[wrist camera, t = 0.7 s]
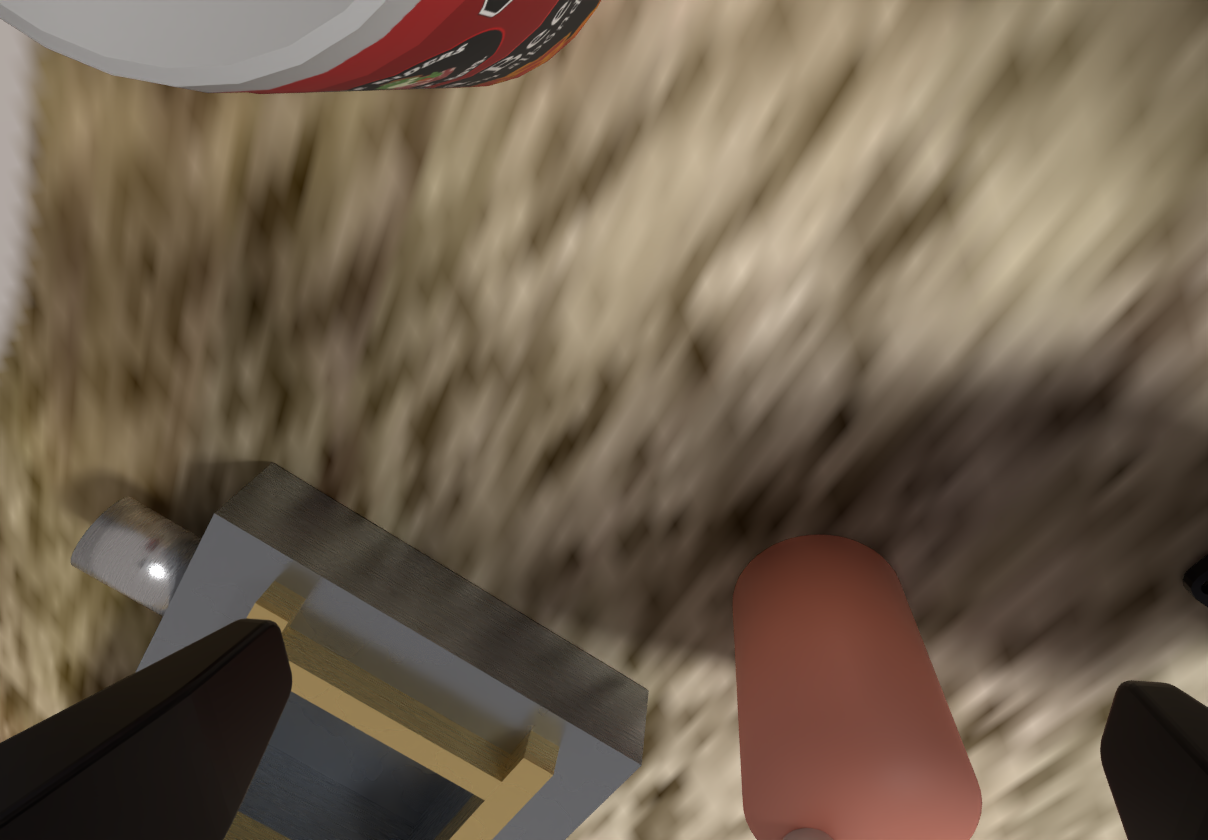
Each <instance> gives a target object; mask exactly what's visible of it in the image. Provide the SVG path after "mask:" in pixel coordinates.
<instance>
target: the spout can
mask: <svg viewBox="0 0 1208 840" xmlns="http://www.w3.org/2000/svg"><path fill="white" fill-rule="evenodd" d="M732 606H733V625H734V644H735V663H736V682H737V701H738V720H739V739H740V758H741V777H742V796H743V809H744V814H745V818H746V821H747V823H748V825H749V828H750V830H751V832H752V833H753V835H754V836H755V838H756V839H757V840H969V839H970V838H971V837H972V835H973V834H974V832H975V830H976V828H977V825H978V823H979V819H980V816H981V809H982V797H981V790H980V787H979V784H978V781H977V778H976V776H975V773H974V771H973V768H972V765H971V763H970V760H969V758H968V755H967V753H966V750H965V748H964V745H963V742H962V740H961V737H960V735H959V732H958V730H957V727H956V725H955V722H954V719H953V717H952V714H951V712H950V709H949V707H948V704H947V702H946V699H945V696H944V694H943V691H942V689H941V686H940V684H939V681H938V678H937V676H936V673H935V671H934V668H933V666H932V663H931V661H930V658H929V655H928V653H927V650H926V648H925V645H924V643H923V640H922V638H921V635H920V632H919V630H918V627H917V625H916V622H915V620H914V617H913V615H912V612H911V609H910V607H909V604H908V602H907V599H906V597H905V594H904V592H903V589H902V586H901V584H900V581H899V579H898V577H897V575H896V573H895V571H894V570H893V569H892V567H891V566H890V564H889V563H888V562H887V561H886V560H885V559H884V558H883V557H882V556H881V555H879V554H878V553H877V552H875V551H874V550H873V549H871V548H869V547H867V546H866V545H864V544H861V543H859V542H857V541H854V540H851V539H848V538H844V537H839V536H833V535H805V536H799V537H795V538H791V539H787V540H784V541H782V542H779V543H777V544H775V545H773V546H771V547H769V548H767V549H765V550H764V551H763V552H761V553H760V554H758V555H757V556H756V557H755V558H754V559H753V560H752V561H751V562H750V563H749V564H748V565H747V566H746V567H745V569H744V570H743V572H742V573H741V575H740V576H739V578H738V581H737V583H736V585H735V589H734V593H733V602H732Z"/></svg>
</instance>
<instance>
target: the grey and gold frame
mask: <svg viewBox="0 0 1208 840" xmlns="http://www.w3.org/2000/svg"><path fill="white" fill-rule="evenodd" d="M71 565H72V566H74V567H76V568H78V569H79V570H81V571H83V572H85V573H87V574H88V575H90V576H92V577H94V578H95V579H97V580H99V581H101V582H103V583H104V584H106V585H108V586H110V587H111V588H113V589H115V590H117V591H118V592H120V593H122V594H124V595H126V596H127V597H129V598H131V599H133V600H134V601H136V602H138V603H140V604H142V605H143V606H145V607H147V608H149V609H150V610H152V611H154V612H156V613H157V614H159V615H161V616H163V618H162V620H161V622H160V624H159V626H158V628H157V630H156V632H155V634H154V636H153V638H152V640H151V642H150V644H149V646H148V648H147V650H146V652H145V654H144V656H143V658H142V660H141V662H140V664H139V666H138V668H137V670H136V672H138V671H140V670H142V669H144V668H146V667H148V666H149V665H151V664H153V663H155V662H157V661H159V660H161V659H163V658H165V657H167V656H169V655H171V654H173V653H174V652H176V651H178V650H180V649H182V648H184V647H186V646H188V645H190V644H192V643H194V642H196V641H198V640H199V639H201V638H203V637H205V636H207V635H209V634H211V633H213V632H215V631H217V630H219V629H221V628H223V627H225V626H226V625H228V624H230V623H232V622H234V621H236V620H239V619H246V618H248V619H263V620H271V621H274V622H276V623H277V625H278V626H279V627H280V630H281V632H282V636H283V640H284V644H285V648H286V652H287V656H288V660H289V664H290V668H291V672H292V689H291V693H290V696H289V699H288V701H287V704H286V706H285V708H284V710H283V712H282V715H281V717H280V719H279V721H278V724H277V726H276V728H275V730H274V733H273V735H272V737H271V739H270V742H269V744H268V746H267V748H266V751H265V753H264V755H263V757H262V760H261V762H260V764H259V766H258V769H257V771H256V773H255V775H254V778H253V780H252V782H251V784H250V786H249V789H248V791H247V793H246V795H245V798H244V800H243V802H242V804H241V806H240V808H239V810H238V812H237V815H236V817H235V819H234V821H233V823H232V825H231V827H230V828H229V830H228V832H227V834H226V836H225V838H224V840H565V839H566V838H567V837H568V836H569V835H570V834H571V833H572V832H573V831H574V830H575V829H576V828H577V827H578V826H579V825H580V824H581V823H582V822H584V821H585V820H586V819H587V818H588V817H589V816H590V815H591V814H592V813H593V812H594V811H595V810H596V809H597V808H598V807H599V806H600V805H601V804H602V803H603V802H604V801H605V800H606V799H607V798H608V797H609V796H610V795H611V794H612V793H613V792H614V791H615V790H616V789H617V788H619V787H620V786H621V785H622V784H623V783H624V782H625V781H626V780H627V779H628V778H629V777H630V776H631V775H632V774H633V773H634V772H635V771H636V770H637V769H638V768H639V767H640V766H641V765H642V754H643V743H644V733H645V722H646V711H647V701H648V690H647V689H645V688H643V687H642V686H640V685H638V684H637V683H635V682H633V681H632V680H630V679H628V678H627V677H625V676H623V675H622V674H620V673H619V672H617V671H615V670H614V669H612V668H610V667H609V666H607V665H605V664H604V663H602V662H600V661H599V660H597V659H595V658H594V657H592V656H590V655H589V654H587V653H586V652H584V651H582V650H581V649H579V648H577V647H576V646H574V645H572V644H571V643H569V642H567V641H566V640H564V639H562V638H561V637H559V636H558V635H556V634H554V633H553V632H551V631H549V630H548V629H546V628H544V627H543V626H541V625H539V624H538V623H536V622H534V621H533V620H531V619H529V618H528V617H526V616H525V615H523V614H521V613H520V612H518V611H516V610H515V609H513V608H511V607H510V606H508V605H506V604H505V603H503V602H501V601H500V600H498V599H496V598H495V597H493V596H492V595H490V594H488V593H487V592H485V591H483V590H482V589H480V588H478V587H477V586H475V585H473V584H472V583H470V582H468V581H467V580H465V579H464V578H462V577H460V576H459V575H457V574H455V573H454V572H452V571H450V570H449V569H447V568H445V567H444V566H442V565H440V564H439V563H437V562H435V561H434V560H432V559H431V558H429V557H427V556H426V555H424V554H422V553H421V552H419V551H417V550H416V549H414V548H412V547H411V546H409V545H407V544H406V543H404V542H403V541H401V540H399V539H398V538H396V537H394V536H393V535H391V534H389V533H388V532H386V531H384V530H383V529H381V528H379V527H378V526H376V525H374V524H373V523H371V522H370V521H368V520H366V519H365V518H363V517H361V516H360V515H358V514H356V513H355V512H353V511H351V510H350V509H348V508H346V507H345V506H343V505H342V504H340V503H338V502H337V501H335V500H333V499H332V498H330V497H328V496H327V495H325V494H323V493H322V492H320V491H318V490H317V489H315V488H313V487H312V486H310V485H309V484H307V483H305V482H304V481H302V480H300V479H299V478H297V477H295V476H294V475H292V474H290V473H289V472H287V471H285V470H284V469H282V468H281V467H279V466H277V465H276V464H274V463H271V464H270V465H269V466H268V467H267V468H266V469H264V470H263V471H262V472H261V473H260V474H259V475H258V476H256V477H255V478H254V479H253V480H252V481H251V482H250V483H248V484H247V485H246V486H245V487H244V488H243V489H242V490H240V491H239V492H238V493H237V494H236V495H235V496H234V497H232V498H231V499H230V500H229V501H228V502H227V503H225V504H224V505H223V506H222V507H221V508H220V509H219V510H217V511H216V512H215V513H214V515H213V517H212V519H211V521H210V523H209V525H208V527H207V529H206V531H205V533H204V535H203V537H202V539H201V538H200V537H198V536H196V535H194V534H193V533H191V532H189V531H188V530H186V529H184V528H182V527H181V526H179V525H177V524H176V523H174V522H172V521H170V520H169V519H167V518H165V517H164V516H162V515H160V514H158V513H157V512H155V511H153V510H152V509H150V508H148V507H146V506H145V505H143V504H141V503H140V502H138V501H136V500H134V499H133V498H131V497H126V498H123V499H121V500H119V501H117V502H116V503H114V504H113V505H112V506H110V507H109V508H108V509H107V510H106V511H105V512H104V513H102V514H101V515H100V516H99V517H98V518H97V520H96V521H95V522H94V523H93V524H92V525H91V526H90V527H89V529H88V530H87V531H86V532H85V534H84V535H83V536H82V538H81V539H80V541H79V542H78V544H77V546H76V548H75V549H74V552H73V554H72V557H71ZM136 672H135V673H136Z"/></svg>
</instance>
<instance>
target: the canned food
mask: <svg viewBox="0 0 1208 840" xmlns="http://www.w3.org/2000/svg"><path fill="white" fill-rule="evenodd" d="M600 1H601V0H0V19H2V20H3V21H5V22H6V23H8V24H10V25H11V26H13V27H14V28H16V29H17V30H19V31H21V32H22V33H24V34H25V35H27V36H28V37H30V38H31V39H33V40H35V41H36V42H38V43H39V44H41V45H42V46H44V47H45V48H48V49H50V50H52V51H55V52H57V53H60V54H62V55H65V56H67V57H69V58H72V59H74V60H77V61H79V62H81V63H84V64H86V65H89V66H91V67H94V68H96V69H98V70H101V71H103V72H106V73H108V74H111V75H115V76H120V77H126V78H131V79H137V80H142V81H147V82H152V83H157V84H163V85H168V86H174V87H179V88H185V89H190V90H195V91H201V92H206V93H231V92H249V93H256V94H273V93H305V92H336V91H368V90H399V89H431V88H460V87H480V86H490V85H493V84H497V83H500V82H504V81H507V80H511V79H514V78H518V77H520V76H522V75H524V74H525V73H527V72H529V71H531V70H533V69H534V68H536V67H538V66H540V65H541V64H543V63H545V62H547V61H548V60H550V59H551V58H552V57H553V56H554V55H555V54H556V53H557V52H559V51H560V50H561V49H562V48H563V47H564V46H565V45H567V44H568V43H569V42H570V41H571V40H572V39H573V38H574V37H575V36H576V35H577V34H578V32H579V31H580V30H581V28H582V27H583V26H584V24H585V23H586V22H587V20H588V19H589V18H590V16H591V15H592V14H593V12H594V11H595V10H596V9H597V7H598V5H599V3H600Z"/></svg>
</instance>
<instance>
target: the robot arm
mask: <svg viewBox="0 0 1208 840" xmlns="http://www.w3.org/2000/svg"><path fill="white" fill-rule="evenodd" d="M1206 581H1208V555H1207V556H1205V557H1204V558H1203V559H1201V560H1200V561H1199V562H1198V563H1196V564H1195V565H1194V566H1192V567H1191V568H1190V569H1189V570H1188V571H1187V572H1186V573H1185V574H1184V577H1183V585H1184V587H1185V588H1186V589H1187V590H1188V591H1189V592H1190V593H1191V594H1192V595H1193V596H1194V597H1195V598H1196V599H1197V600H1198V601H1200V602H1201V603H1202V604H1204V605H1205V606H1207V607H1208V584H1207V585H1203V583H1204V582H1206ZM1202 585H1203V586H1202ZM291 689H292V672H291V668H290V664H289V660H288V656H287V652H286V648H285V644H284V640H283V636H282V632H281V630H280V627H279V626H278V625H277V623H276V622H274V621H271V620H263V619H248V618H246V619H239V620H236V621H234V622H232V623H230V624H228V625H226V626H225V627H223V628H221V629H219V630H217V631H215V632H213V633H211V634H209V635H207V636H205V637H203V638H201V639H199V640H198V641H196V642H194V643H192V644H190V645H188V646H186V647H184V648H182V649H180V650H178V651H176V652H174V653H173V654H171V655H169V656H167V657H165V658H163V659H161V660H159V661H157V662H155V663H153V664H151V665H149V666H148V667H146V668H144V669H142V670H140V671H138V672H136V673H134V674H132V675H130V676H128V677H126V678H124V679H123V680H121V681H119V682H117V683H115V684H113V685H111V686H109V687H107V688H105V689H103V690H101V691H99V692H97V693H96V694H94V695H92V696H90V697H88V698H86V699H84V700H82V701H80V702H78V703H76V704H74V705H72V706H71V707H69V708H67V709H65V710H63V711H61V712H59V713H57V714H55V715H53V716H51V717H49V718H47V719H46V720H44V721H42V722H40V723H38V724H36V725H34V726H32V727H30V728H28V729H26V730H24V731H22V732H20V733H19V734H17V735H15V736H13V737H11V738H9V739H7V740H5V741H3V742H1V743H0V840H224V838H225V836H226V834H227V832H228V830H229V828H230V827H231V825H232V823H233V821H234V819H235V817H236V815H237V812H238V810H239V808H240V806H241V804H242V802H243V800H244V798H245V795H246V793H247V791H248V789H249V786H250V784H251V782H252V780H253V778H254V775H255V773H256V771H257V769H258V766H259V764H260V762H261V760H262V757H263V755H264V753H265V751H266V748H267V746H268V744H269V742H270V739H271V737H272V735H273V733H274V730H275V728H276V726H277V724H278V721H279V719H280V717H281V715H282V712H283V710H284V708H285V706H286V704H287V701H288V699H289V696H290V693H291ZM1100 752H1101V761H1102V765H1103V769H1104V772H1105V775H1106V778H1107V781H1108V783H1109V786H1110V789H1111V792H1112V795H1113V798H1114V801H1115V804H1116V807H1117V810H1118V812H1119V815H1120V818H1121V821H1122V824H1123V827H1124V830H1125V833H1126V836H1127V839H1128V840H1208V707H1206V706H1205V705H1203V704H1202V703H1200V702H1199V701H1197V700H1196V699H1194V698H1193V697H1191V696H1189V695H1188V694H1186V693H1185V692H1183V691H1182V690H1180V689H1179V688H1177V687H1175V686H1173V685H1171V684H1167V683H1161V682H1146V681H1132V680H1131V681H1126V682H1123V683H1122V684H1121V685H1120V686H1119V687H1118V688H1117V691H1116V693H1115V696H1114V699H1113V703H1112V706H1111V709H1110V713H1109V716H1108V719H1107V723H1106V726H1105V729H1104V732H1103V736H1102V739H1101V747H1100Z"/></svg>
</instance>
